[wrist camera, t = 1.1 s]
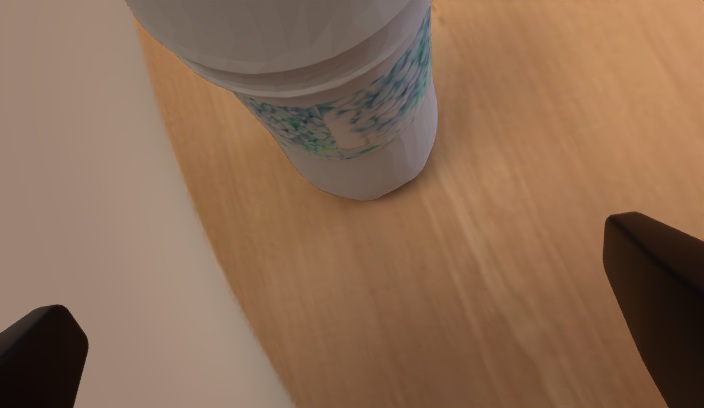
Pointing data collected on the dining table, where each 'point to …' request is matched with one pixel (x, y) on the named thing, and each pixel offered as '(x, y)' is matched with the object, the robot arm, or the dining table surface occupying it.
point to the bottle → (318, 79)
